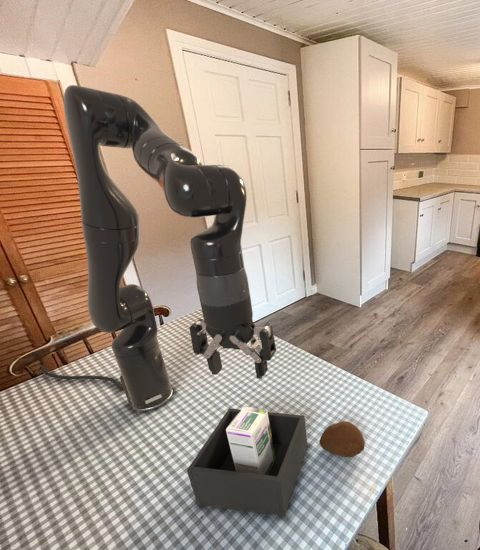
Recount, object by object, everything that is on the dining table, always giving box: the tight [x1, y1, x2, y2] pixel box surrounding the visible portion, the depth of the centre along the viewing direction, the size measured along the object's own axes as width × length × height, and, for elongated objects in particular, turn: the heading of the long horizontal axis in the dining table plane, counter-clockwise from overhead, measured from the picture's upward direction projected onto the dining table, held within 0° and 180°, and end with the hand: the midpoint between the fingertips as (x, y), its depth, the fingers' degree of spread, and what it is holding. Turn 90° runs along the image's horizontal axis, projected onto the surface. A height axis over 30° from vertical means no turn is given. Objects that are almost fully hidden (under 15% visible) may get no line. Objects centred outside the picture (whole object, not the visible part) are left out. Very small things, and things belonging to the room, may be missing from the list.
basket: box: [186, 407, 308, 517], centre depth 63 cm, size 18×15×10 cm
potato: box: [319, 420, 366, 459], centre depth 69 cm, size 7×10×7 cm
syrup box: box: [226, 406, 276, 475], centre depth 62 cm, size 6×6×14 cm
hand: (239, 373), depth 56 cm, fingers open, 8 cm apart
